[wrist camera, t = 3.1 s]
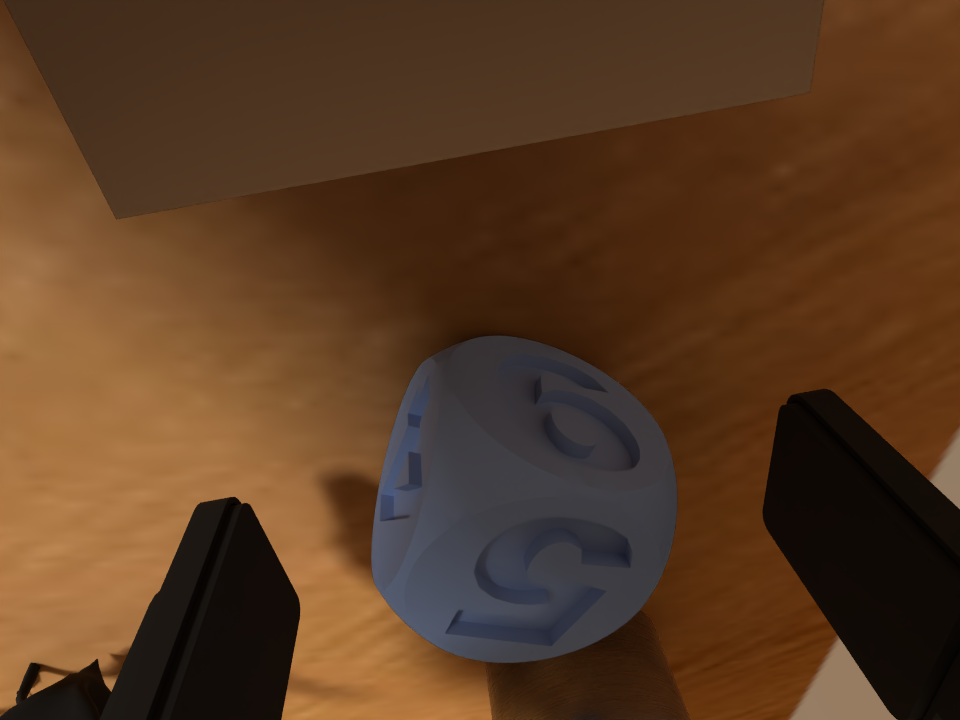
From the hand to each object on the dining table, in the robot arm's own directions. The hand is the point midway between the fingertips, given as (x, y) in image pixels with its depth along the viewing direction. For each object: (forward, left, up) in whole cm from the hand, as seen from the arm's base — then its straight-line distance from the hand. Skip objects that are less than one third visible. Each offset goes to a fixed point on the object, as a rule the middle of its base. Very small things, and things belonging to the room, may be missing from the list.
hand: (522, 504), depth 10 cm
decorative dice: (0, 0, -2) cm, 2 cm away
